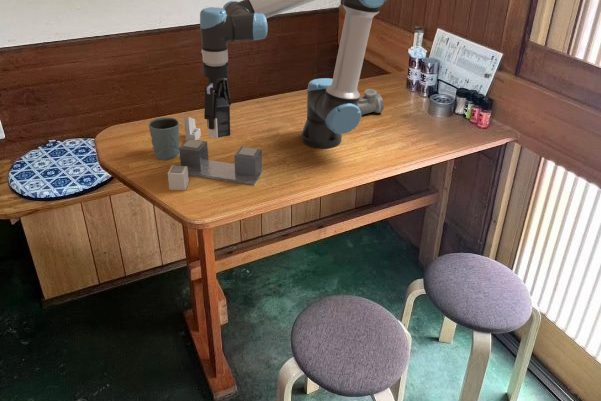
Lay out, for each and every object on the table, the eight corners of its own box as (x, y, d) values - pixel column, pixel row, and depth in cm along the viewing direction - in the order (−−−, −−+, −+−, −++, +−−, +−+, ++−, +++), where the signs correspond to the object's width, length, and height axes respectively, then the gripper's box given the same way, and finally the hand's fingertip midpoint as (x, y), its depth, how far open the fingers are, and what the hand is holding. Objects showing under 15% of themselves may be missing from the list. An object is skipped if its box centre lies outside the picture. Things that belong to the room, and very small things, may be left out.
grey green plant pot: (146, 157, 194) (142, 126, 187) (162, 145, 202) (159, 114, 195) (172, 163, 191) (168, 131, 184) (187, 150, 199) (184, 119, 192)
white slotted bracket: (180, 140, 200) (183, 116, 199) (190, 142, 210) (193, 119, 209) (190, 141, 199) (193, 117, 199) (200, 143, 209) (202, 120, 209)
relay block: (188, 182, 180) (187, 165, 177) (185, 190, 176) (183, 173, 173) (173, 181, 180) (171, 164, 177) (169, 189, 176) (167, 172, 173)
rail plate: (263, 170, 188) (263, 145, 183) (254, 185, 180) (253, 159, 175) (191, 160, 193) (189, 135, 188) (179, 174, 185) (176, 148, 179)
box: (207, 128, 180) (205, 97, 175) (224, 126, 182) (222, 95, 176) (214, 138, 174) (212, 106, 168) (231, 136, 176) (229, 104, 170)
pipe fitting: (375, 106, 236) (376, 84, 229) (384, 115, 230) (385, 93, 223) (349, 113, 233) (349, 91, 226) (358, 122, 227) (358, 100, 220)
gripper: (216, 50, 176) (220, 115, 188) (188, 73, 157) (194, 144, 170) (239, 52, 174) (241, 118, 186) (213, 76, 156) (217, 147, 168)
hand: (219, 130), depth 178 cm, fingers closed on box, 9 cm apart
